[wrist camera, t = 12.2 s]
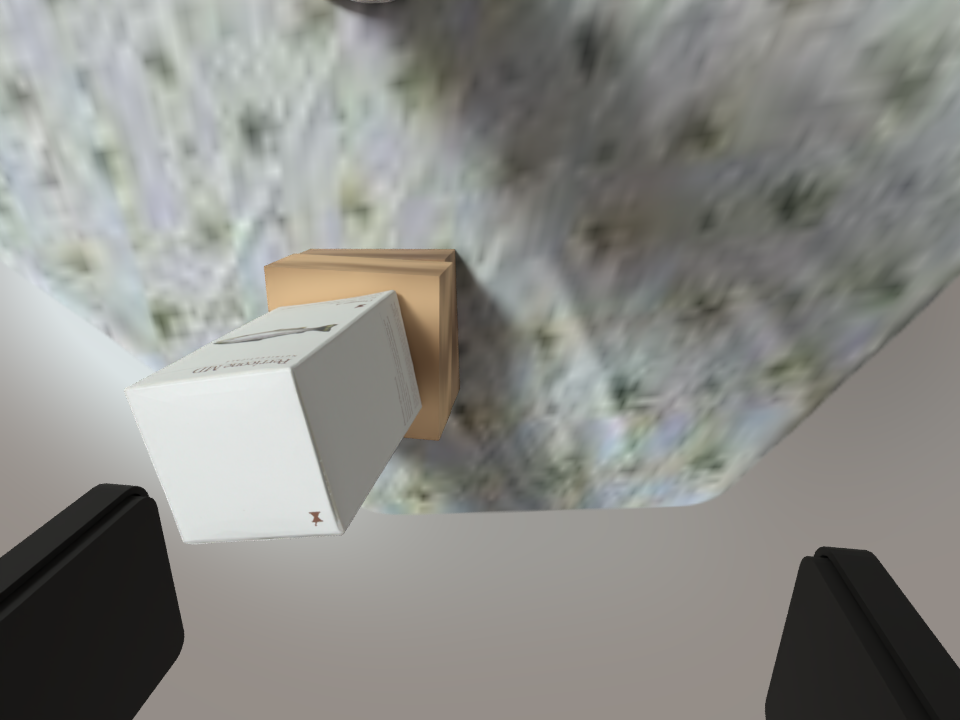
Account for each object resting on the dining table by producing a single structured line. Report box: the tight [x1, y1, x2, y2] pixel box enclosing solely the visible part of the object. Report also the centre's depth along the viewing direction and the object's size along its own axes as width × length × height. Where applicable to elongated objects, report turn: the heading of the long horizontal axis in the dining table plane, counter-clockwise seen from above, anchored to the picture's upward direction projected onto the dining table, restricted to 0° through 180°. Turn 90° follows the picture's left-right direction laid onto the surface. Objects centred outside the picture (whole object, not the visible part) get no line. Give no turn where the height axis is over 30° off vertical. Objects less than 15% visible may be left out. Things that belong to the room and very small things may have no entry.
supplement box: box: [124, 290, 422, 544], centre depth 28 cm, size 7×7×13 cm
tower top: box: [264, 254, 453, 441], centre depth 36 cm, size 10×10×4 cm
